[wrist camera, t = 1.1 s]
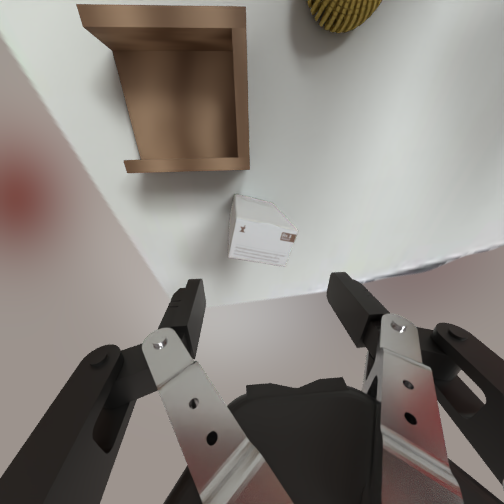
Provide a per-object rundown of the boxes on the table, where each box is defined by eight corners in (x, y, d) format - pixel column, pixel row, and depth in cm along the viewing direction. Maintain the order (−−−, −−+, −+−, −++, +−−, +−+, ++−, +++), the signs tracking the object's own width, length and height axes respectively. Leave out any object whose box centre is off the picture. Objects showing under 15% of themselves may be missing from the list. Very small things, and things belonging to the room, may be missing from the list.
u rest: (243, 40, 20) (245, 6, 15) (247, 166, 25) (249, 169, 21) (115, 40, 19) (76, 4, 15) (147, 169, 25) (127, 173, 20)
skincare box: (228, 220, 29) (223, 261, 18) (234, 190, 27) (232, 216, 16) (267, 228, 30) (284, 271, 19) (276, 200, 28) (300, 230, 17)
